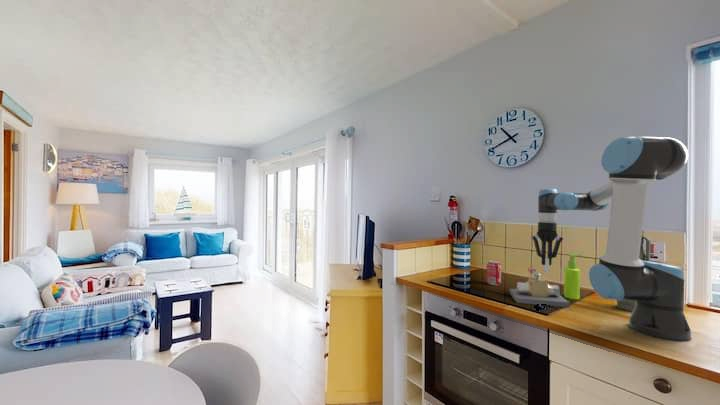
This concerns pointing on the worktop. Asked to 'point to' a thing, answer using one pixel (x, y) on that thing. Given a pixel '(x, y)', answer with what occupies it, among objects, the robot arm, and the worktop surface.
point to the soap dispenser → (572, 279)
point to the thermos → (630, 304)
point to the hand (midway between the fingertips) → (546, 271)
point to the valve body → (538, 288)
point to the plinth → (539, 299)
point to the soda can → (493, 273)
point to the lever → (534, 272)
